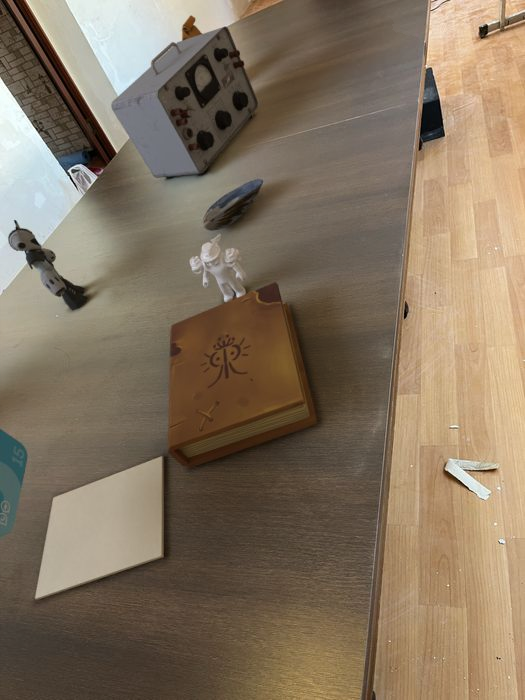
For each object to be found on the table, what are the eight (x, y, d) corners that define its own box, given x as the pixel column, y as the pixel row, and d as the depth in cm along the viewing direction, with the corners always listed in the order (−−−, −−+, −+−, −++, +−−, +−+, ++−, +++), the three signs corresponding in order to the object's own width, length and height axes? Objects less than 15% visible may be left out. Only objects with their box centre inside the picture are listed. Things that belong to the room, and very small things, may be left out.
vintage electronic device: (209, 179, 120) (154, 77, 103) (158, 184, 131) (101, 92, 114) (267, 108, 135) (227, 8, 118) (217, 118, 145) (174, 27, 128)
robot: (61, 286, 115) (-3, 217, 101) (79, 274, 115) (17, 204, 102) (74, 327, 100) (1, 253, 87) (94, 313, 101) (24, 237, 87)
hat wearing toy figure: (260, 282, 85) (230, 227, 77) (256, 298, 83) (225, 243, 74) (214, 292, 89) (181, 240, 80) (210, 308, 86) (175, 256, 78)
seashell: (262, 230, 96) (252, 209, 92) (206, 245, 100) (194, 226, 97) (272, 187, 105) (263, 166, 102) (220, 202, 110) (210, 183, 107)
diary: (185, 349, 81) (167, 326, 78) (289, 307, 78) (276, 281, 74) (185, 469, 65) (163, 448, 61) (318, 423, 61) (302, 397, 57)
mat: (37, 600, 61) (34, 599, 61) (55, 498, 71) (53, 497, 71) (163, 557, 58) (161, 555, 58) (164, 457, 68) (162, 455, 68)
